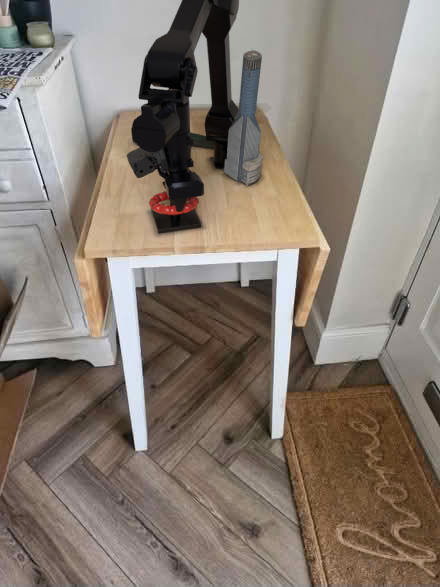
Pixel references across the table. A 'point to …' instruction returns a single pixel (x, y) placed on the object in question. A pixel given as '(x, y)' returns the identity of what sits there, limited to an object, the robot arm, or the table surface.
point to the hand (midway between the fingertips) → (178, 208)
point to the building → (246, 127)
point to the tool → (198, 141)
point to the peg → (175, 221)
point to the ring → (170, 209)
